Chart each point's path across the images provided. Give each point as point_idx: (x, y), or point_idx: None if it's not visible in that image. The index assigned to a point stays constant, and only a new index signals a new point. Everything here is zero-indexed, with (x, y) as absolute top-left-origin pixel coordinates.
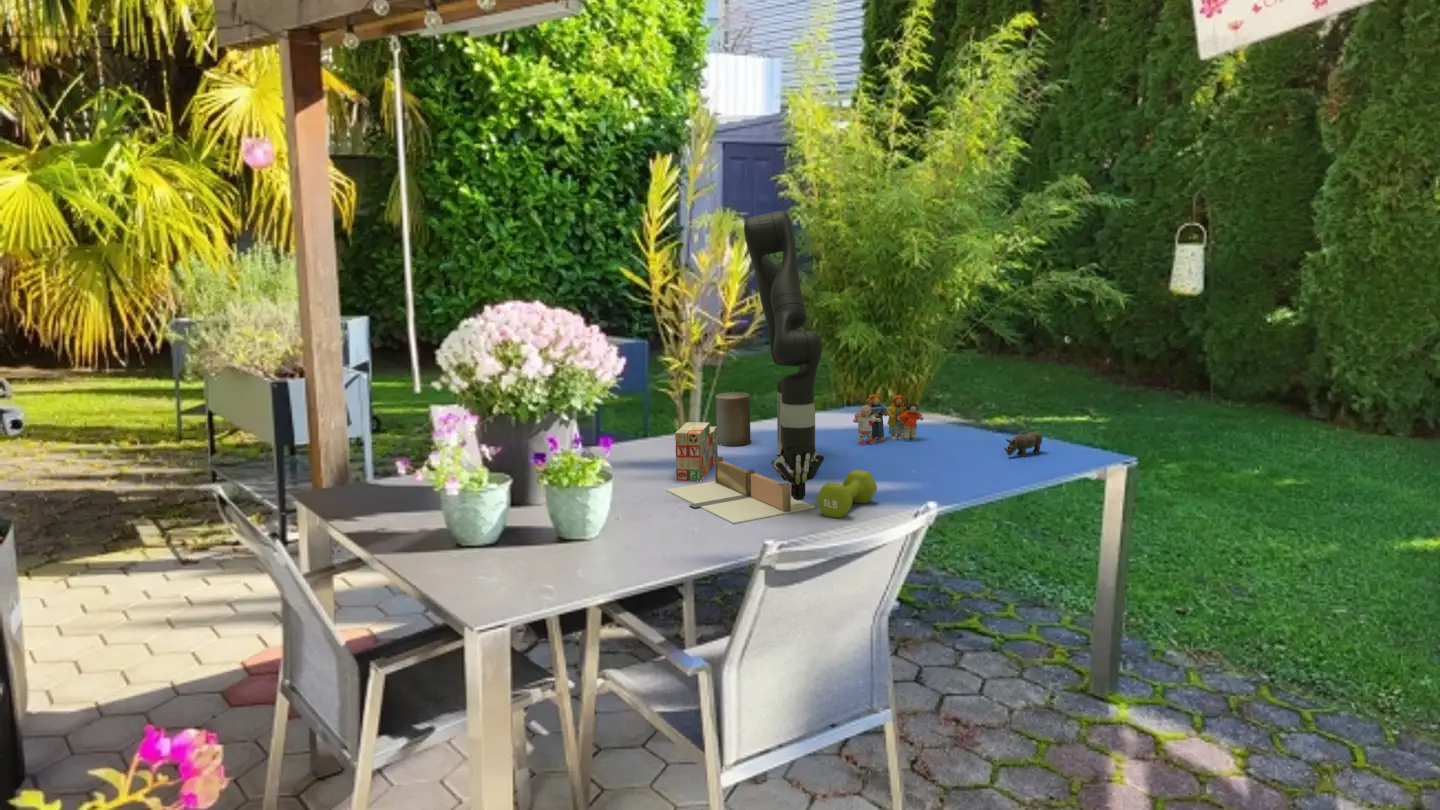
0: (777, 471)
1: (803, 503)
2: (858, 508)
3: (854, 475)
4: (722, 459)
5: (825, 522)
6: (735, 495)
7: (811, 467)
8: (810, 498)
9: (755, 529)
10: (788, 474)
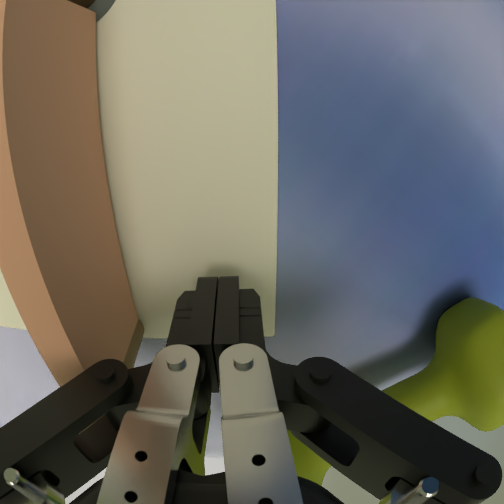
0: (21, 422)
1: (259, 272)
2: (391, 379)
3: (480, 417)
4: None
5: (209, 429)
6: None
7: (357, 456)
8: (366, 189)
9: (14, 376)
10: (102, 458)
